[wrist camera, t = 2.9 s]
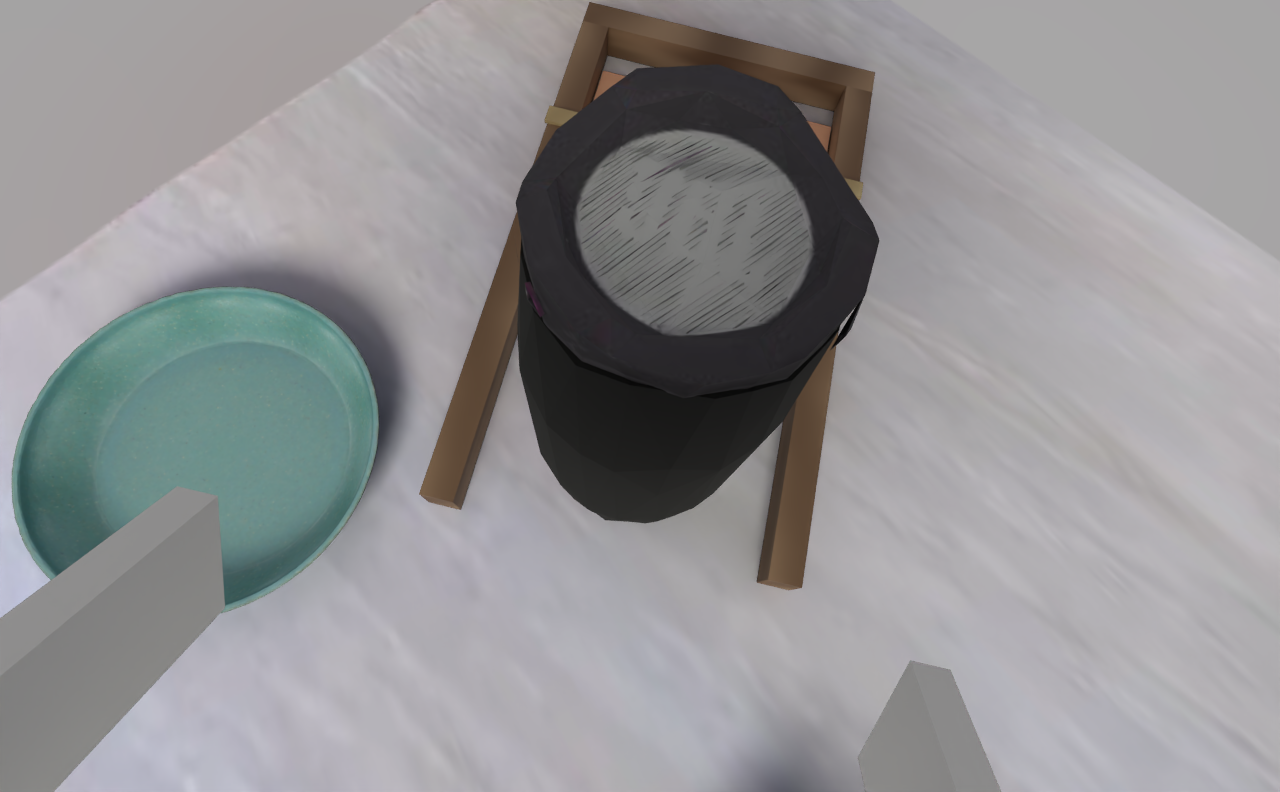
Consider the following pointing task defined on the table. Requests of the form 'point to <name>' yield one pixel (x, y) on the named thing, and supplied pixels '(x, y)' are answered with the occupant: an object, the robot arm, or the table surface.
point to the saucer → (203, 433)
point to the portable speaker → (679, 283)
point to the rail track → (498, 321)
